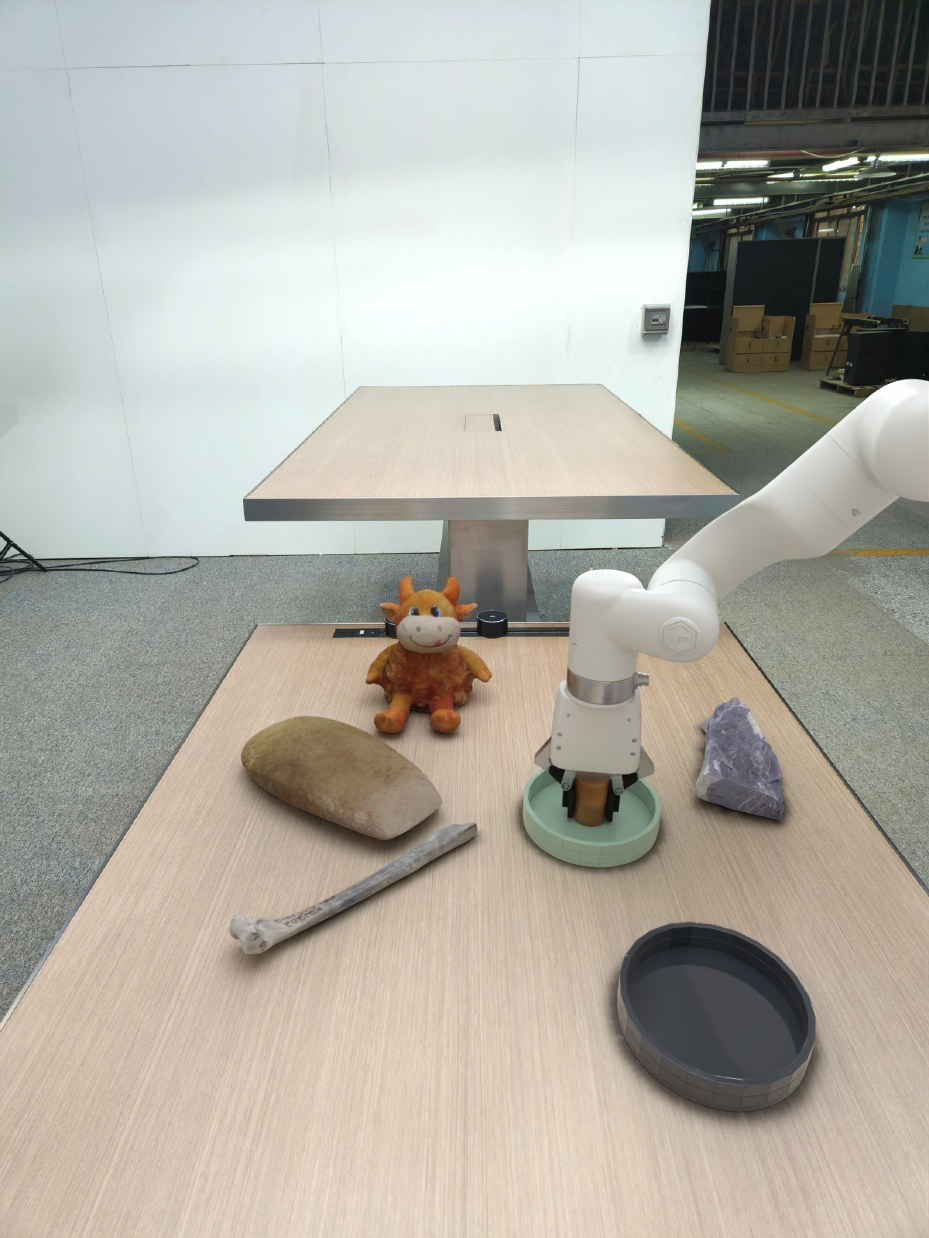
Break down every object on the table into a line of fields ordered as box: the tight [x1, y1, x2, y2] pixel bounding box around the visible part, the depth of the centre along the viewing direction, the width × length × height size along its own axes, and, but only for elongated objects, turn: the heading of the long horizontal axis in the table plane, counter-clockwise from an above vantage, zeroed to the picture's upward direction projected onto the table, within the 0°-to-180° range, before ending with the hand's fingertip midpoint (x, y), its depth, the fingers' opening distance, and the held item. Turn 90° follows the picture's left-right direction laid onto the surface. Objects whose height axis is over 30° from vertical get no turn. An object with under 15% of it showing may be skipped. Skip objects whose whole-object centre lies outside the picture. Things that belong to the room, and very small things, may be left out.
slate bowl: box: [616, 921, 817, 1113], centre depth 66 cm, size 16×16×3 cm
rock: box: [694, 696, 785, 821], centre depth 101 cm, size 25×11×5 cm, turn 161°
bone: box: [228, 822, 478, 955], centre depth 80 cm, size 29×4×5 cm, turn 129°
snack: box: [573, 771, 610, 827], centre depth 90 cm, size 4×4×6 cm
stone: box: [240, 715, 444, 841], centre depth 96 cm, size 30×15×6 cm, turn 51°
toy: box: [365, 575, 493, 734], centre depth 116 cm, size 19×22×25 cm
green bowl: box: [522, 768, 662, 868], centre depth 90 cm, size 16×16×3 cm
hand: (589, 811), depth 91 cm, fingers closed on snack, 4 cm apart
